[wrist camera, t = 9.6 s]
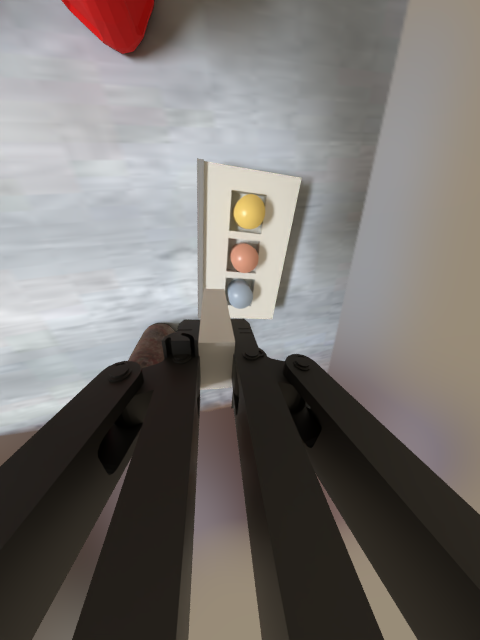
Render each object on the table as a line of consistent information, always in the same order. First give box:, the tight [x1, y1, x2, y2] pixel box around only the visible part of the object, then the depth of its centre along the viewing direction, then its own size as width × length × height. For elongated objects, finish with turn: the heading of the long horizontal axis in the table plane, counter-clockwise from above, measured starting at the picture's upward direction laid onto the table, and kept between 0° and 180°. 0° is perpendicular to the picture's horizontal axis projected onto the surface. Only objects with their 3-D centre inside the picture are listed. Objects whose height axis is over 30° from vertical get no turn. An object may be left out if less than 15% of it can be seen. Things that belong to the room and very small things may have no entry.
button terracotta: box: [230, 242, 259, 273], centre depth 28 cm, size 4×4×4 cm
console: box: [197, 159, 301, 319], centre depth 30 cm, size 22×14×6 cm, turn 174°
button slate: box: [227, 279, 253, 309], centre depth 31 cm, size 4×4×4 cm
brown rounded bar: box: [128, 323, 175, 368], centre depth 30 cm, size 8×7×20 cm
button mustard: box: [233, 194, 265, 229], centre depth 25 cm, size 4×4×4 cm
